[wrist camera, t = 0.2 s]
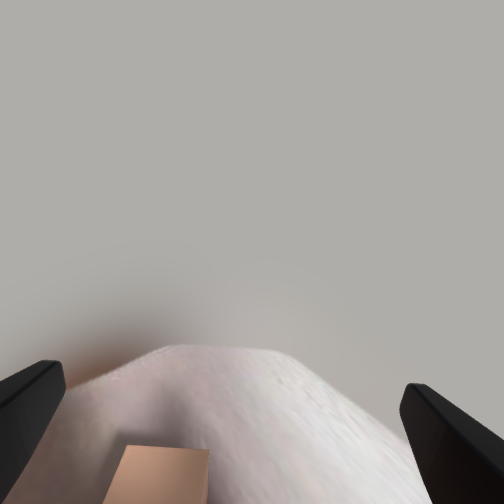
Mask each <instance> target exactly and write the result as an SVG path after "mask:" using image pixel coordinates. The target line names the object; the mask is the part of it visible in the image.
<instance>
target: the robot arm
mask: <svg viewBox="0 0 504 504" xmlns="http://www.w3.org/2000/svg"><path fill="white" fill-rule="evenodd" d="M65 389H66V383H65V378H64V373H63V367H62V364H61V362H60V361H56V360H41V361H39V362H37V363H35V364H33V365H31V366H29V367H27V368H26V369H23V370H21V371H20V372H17V373H15V374H14V375H12V376H10V377H8V378H6V379H4V380H2V381H0V504H2V503H3V501H4V499H5V498H6V496H7V495H8V493H9V492H10V490H11V488H12V487H13V485H14V484H15V482H16V481H17V479H18V478H19V476H20V474H21V473H22V471H23V470H24V468H25V466H26V465H27V463H28V461H29V460H30V458H31V456H32V454H33V453H34V451H35V449H36V447H37V445H38V443H39V441H40V440H41V438H42V436H43V434H44V432H45V430H46V428H47V426H48V424H49V422H50V421H51V419H52V417H53V415H54V413H55V411H56V409H57V407H58V405H59V403H60V402H61V400H62V398H63V396H64V393H65ZM399 410H400V416H401V420H402V422H403V425H404V428H405V431H406V434H407V437H408V440H409V443H410V446H411V449H412V452H413V455H414V457H415V460H416V463H417V466H418V469H419V472H420V475H421V477H422V480H423V483H424V485H425V487H426V490H427V492H428V494H429V497H430V499H431V501H432V504H504V440H503V439H502V438H500V437H499V436H497V435H496V434H494V433H493V432H492V431H490V430H489V429H488V428H486V427H485V426H483V425H482V424H481V423H479V422H478V421H476V420H475V419H474V418H472V417H471V416H469V415H468V414H467V413H465V412H464V411H462V410H461V409H460V408H458V407H457V406H455V405H454V404H452V403H451V402H450V401H448V400H447V399H445V398H444V397H443V396H441V395H440V394H438V393H437V392H436V391H434V390H433V389H431V388H430V387H428V386H427V385H425V384H418V383H409V384H408V385H407V386H406V388H405V391H404V394H403V398H402V400H401V404H400V409H399Z"/></svg>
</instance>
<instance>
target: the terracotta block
mask: <svg viewBox="0 0 504 504" xmlns="http://www.w3.org/2000/svg"><path fill="white" fill-rule="evenodd" d="M208 468H209V450H202V449H186V448H169V447H152V446H136V445H127V447H126V449H125V452H124V454H123V456H122V459H121V461H120V464H119V466H118V468H117V471H116V473H115V475H114V478H113V480H112V483H111V485H110V487H109V490H108V492H107V495H106V497H105V499H104V502H103V504H207V499H208Z"/></svg>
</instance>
